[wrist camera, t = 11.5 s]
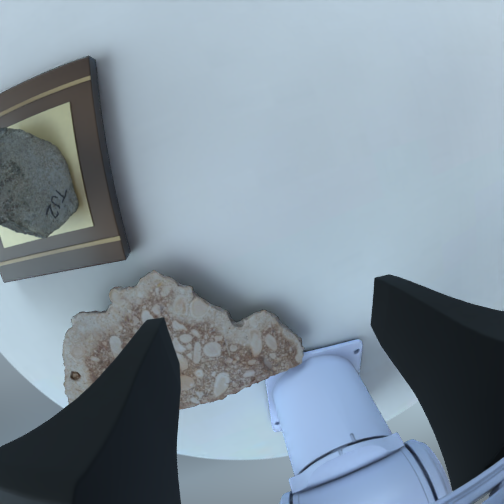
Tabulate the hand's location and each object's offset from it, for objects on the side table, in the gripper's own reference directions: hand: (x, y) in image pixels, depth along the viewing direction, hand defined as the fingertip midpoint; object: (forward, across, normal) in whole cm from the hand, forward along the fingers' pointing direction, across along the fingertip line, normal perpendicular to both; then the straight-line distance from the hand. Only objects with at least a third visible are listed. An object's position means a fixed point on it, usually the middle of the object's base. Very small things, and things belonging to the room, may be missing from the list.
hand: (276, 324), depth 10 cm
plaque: (+9, +12, -6) cm, 16 cm away
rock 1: (+8, +12, -6) cm, 15 cm away
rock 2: (+10, +6, +6) cm, 13 cm away
